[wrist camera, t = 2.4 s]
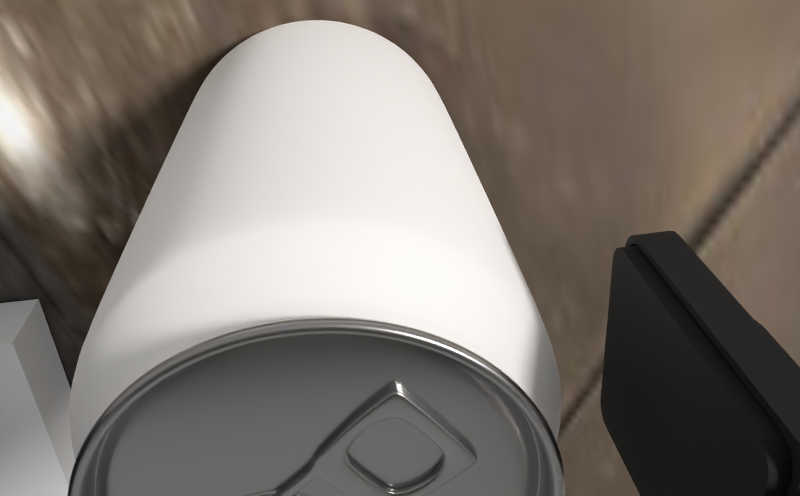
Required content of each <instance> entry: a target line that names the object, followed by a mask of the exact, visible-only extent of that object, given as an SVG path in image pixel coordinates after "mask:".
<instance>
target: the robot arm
mask: <svg viewBox="0 0 800 496" xmlns="http://www.w3.org/2000/svg"><path fill="white" fill-rule="evenodd" d="M601 411H602V416H603V419H604V423H605V425H606V427H607V429H608V431H609V433H610V435H611V437H612V439H613V441H614V443H615V446H616V448H617V450H618V452H619V454H620V456H621V458H622V460H623V462H624V464H625V466H626V468H627V470H628V472H629V474H630V476H631V478H632V480H633V482H634V484H635V486H636V488H637V490H638V492H639V494H640V496H800V367H799V366H798V365H797V364H796V363H795V362H794V360H793V359H792V358H791V357H790V356H789V355H788V354H787V353H786V351H785V350H784V349H783V348H782V347H781V346H780V345H779V344H778V343H777V341H776V340H775V339H774V338H773V337H772V336H771V335H770V334H769V332H768V331H767V330H766V329H765V328H764V327H763V326H762V325H760V324H759V323H758V322H757V321H756V320H754V319H753V318H752V317H751V316H750V315H749V314H748V312H747V311H746V310H745V309H744V308H743V307H742V306H741V305H740V303H739V302H738V301H737V300H736V299H735V298H734V297H733V296H732V294H731V293H730V292H729V291H728V290H727V289H726V288H725V287H724V285H723V284H722V283H721V282H720V281H719V280H718V279H717V277H716V276H715V275H714V274H713V273H712V272H711V271H710V270H709V268H708V267H707V266H706V265H705V264H704V263H703V262H702V261H701V259H700V258H699V257H698V256H697V255H696V254H695V253H694V252H693V250H692V249H691V248H690V247H689V246H688V245H687V244H686V243H685V241H684V240H683V239H682V238H681V237H680V236H679V235H678V234H677V233H676V232H674V231H665V232H657V233H649V234H640V235H632V236H630V237H629V238H628V240H627V242H626V246H625V247H622V248H617V249H616V250H615V252H614V256H613V265H612V276H611V287H610V299H609V310H608V321H607V332H606V344H605V355H604V366H603V378H602V389H601Z"/></svg>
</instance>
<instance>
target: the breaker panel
mask: <svg viewBox="0 0 800 496" xmlns="http://www.w3.org/2000/svg"><path fill="white" fill-rule="evenodd" d="M70 394H71V388H70V386H69V383H68V380H67V377H66V374H65V372H64V369H63V366H62V363H61V360H60V358H59V355H58V352H57V349H56V346H55V344H54V341H53V338H52V335H51V333H50V330H49V327H48V324H47V321H46V319H45V316H44V313H43V310H42V307H41V305H40V302H39V299H35V300H26V301H17V302H7V303H0V496H67V495H68V487H69V482H70V477H71V473H72V470H73V466H74V463H75V456H74V452H73V447H72V441H71V433H70V420H69V406H70Z"/></svg>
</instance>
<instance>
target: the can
mask: <svg viewBox="0 0 800 496" xmlns="http://www.w3.org/2000/svg"><path fill="white" fill-rule="evenodd" d="M560 415H561V386H560V378H559V373H558V368H557V364H556V360H555V356H554V352H553V349H552V345H551V342H550V339H549V336H548V334H547V331H546V329H545V326H544V324H543V321H542V319H541V316H540V314H539V311H538V309H537V306H536V304H535V302H534V299H533V297H532V295H531V293H530V290H529V288H528V286H527V284H526V281H525V279H524V277H523V275H522V272H521V270H520V268H519V266H518V263H517V261H516V259H515V257H514V255H513V252H512V250H511V248H510V246H509V244H508V241H507V239H506V237H505V235H504V233H503V230H502V228H501V226H500V224H499V222H498V219H497V217H496V215H495V213H494V211H493V209H492V206H491V204H490V202H489V200H488V198H487V196H486V193H485V191H484V189H483V187H482V185H481V183H480V180H479V178H478V176H477V174H476V172H475V170H474V167H473V165H472V163H471V161H470V159H469V157H468V155H467V152H466V150H465V148H464V146H463V144H462V142H461V140H460V137H459V135H458V133H457V131H456V129H455V127H454V125H453V123H452V120H451V118H450V116H449V114H448V112H447V110H446V108H445V106H444V104H443V102H442V100H441V98H440V96H439V94H438V92H437V91H436V89H435V87H434V86H433V84H432V82H431V81H430V79H429V78H428V76H427V75H426V74H425V72H424V71H423V70H422V69H421V68H420V66H419V65H418V64H417V63H416V62H415V61H414V60H413V59H412V58H411V57H410V56H409V55H408V54H407V53H405V52H404V51H403V50H402V49H400V48H399V47H398V46H396V45H395V44H393V43H392V42H390V41H389V40H387V39H385V38H384V37H382V36H380V35H378V34H376V33H373V32H371V31H369V30H366V29H364V28H361V27H358V26H354V25H350V24H346V23H341V22H334V21H323V20H310V21H299V22H292V23H287V24H283V25H279V26H276V27H273V28H270V29H267V30H265V31H262V32H260V33H258V34H256V35H254V36H252V37H250V38H248V39H247V40H245V41H243V42H242V43H240V44H239V45H238V46H236V47H235V48H233V49H232V50H231V51H230V52H229V53H228V54H226V55H225V56H224V57H223V58H222V59H221V60H220V61H219V62H218V64H217V65H216V66H215V67H214V68H213V69H212V71H211V72H210V73H209V75H208V76H207V77H206V79H205V80H204V82H203V84H202V85H201V87H200V89H199V91H198V93H197V94H196V96H195V98H194V100H193V102H192V104H191V106H190V108H189V110H188V112H187V114H186V117H185V119H184V121H183V123H182V125H181V127H180V129H179V131H178V133H177V136H176V138H175V140H174V142H173V144H172V146H171V148H170V151H169V153H168V155H167V157H166V159H165V161H164V163H163V166H162V168H161V170H160V172H159V174H158V176H157V179H156V181H155V183H154V185H153V187H152V189H151V192H150V194H149V196H148V198H147V200H146V202H145V205H144V207H143V209H142V211H141V213H140V215H139V218H138V220H137V222H136V224H135V226H134V229H133V231H132V233H131V235H130V237H129V240H128V242H127V244H126V246H125V248H124V251H123V253H122V255H121V257H120V259H119V262H118V264H117V266H116V268H115V271H114V273H113V275H112V277H111V280H110V282H109V284H108V286H107V289H106V291H105V293H104V295H103V298H102V300H101V302H100V304H99V307H98V309H97V311H96V314H95V316H94V319H93V321H92V324H91V326H90V329H89V331H88V334H87V336H86V339H85V341H84V344H83V346H82V349H81V352H80V355H79V359H78V362H77V366H76V370H75V374H74V378H73V382H72V388H71V394H70V406H69V420H70V433H71V441H72V447H73V452H74V456H75V463H74V466H73V470H72V473H71V477H70V482H69V487H68V495H67V496H565V477H564V469H563V463H562V459H561V455H560V451H559V448H558V445H557V438H558V433H559V426H560Z"/></svg>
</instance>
